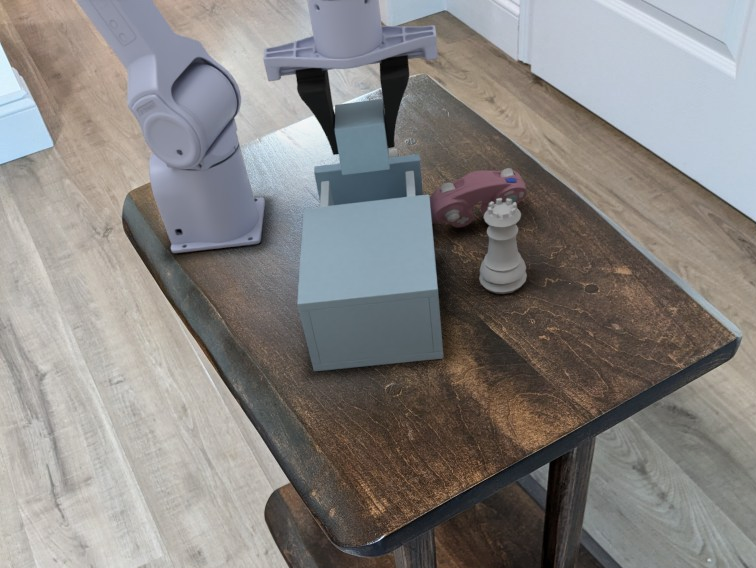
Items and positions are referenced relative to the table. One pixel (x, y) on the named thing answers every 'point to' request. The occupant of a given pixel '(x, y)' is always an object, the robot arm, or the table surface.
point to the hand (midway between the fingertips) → (364, 145)
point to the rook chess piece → (502, 249)
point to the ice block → (361, 137)
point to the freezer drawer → (370, 182)
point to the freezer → (369, 284)
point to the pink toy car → (474, 195)
